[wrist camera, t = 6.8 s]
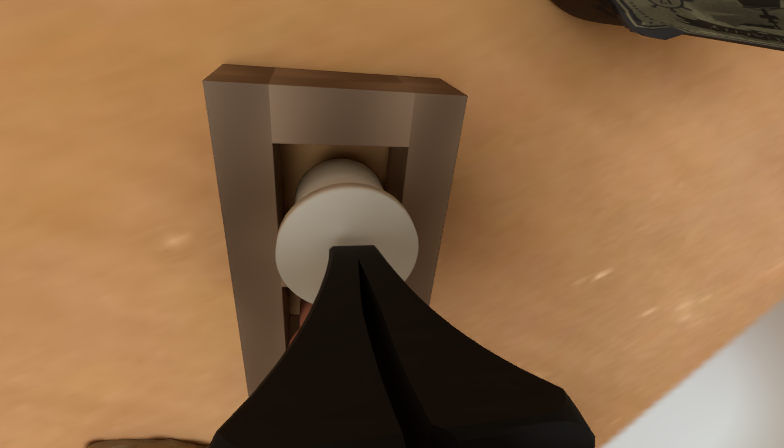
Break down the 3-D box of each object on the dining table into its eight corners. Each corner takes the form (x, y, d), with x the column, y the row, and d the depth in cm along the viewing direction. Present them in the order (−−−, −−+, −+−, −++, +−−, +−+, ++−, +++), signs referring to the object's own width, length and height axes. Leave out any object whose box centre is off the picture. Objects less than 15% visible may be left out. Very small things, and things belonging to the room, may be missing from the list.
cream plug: (400, 147, 15) (427, 191, 12) (389, 244, 17) (410, 305, 14) (279, 144, 14) (270, 190, 11) (285, 248, 16) (279, 313, 13)
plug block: (439, 78, 17) (467, 96, 14) (393, 396, 28) (403, 443, 25) (223, 64, 15) (202, 80, 12) (263, 410, 26) (258, 463, 23)
